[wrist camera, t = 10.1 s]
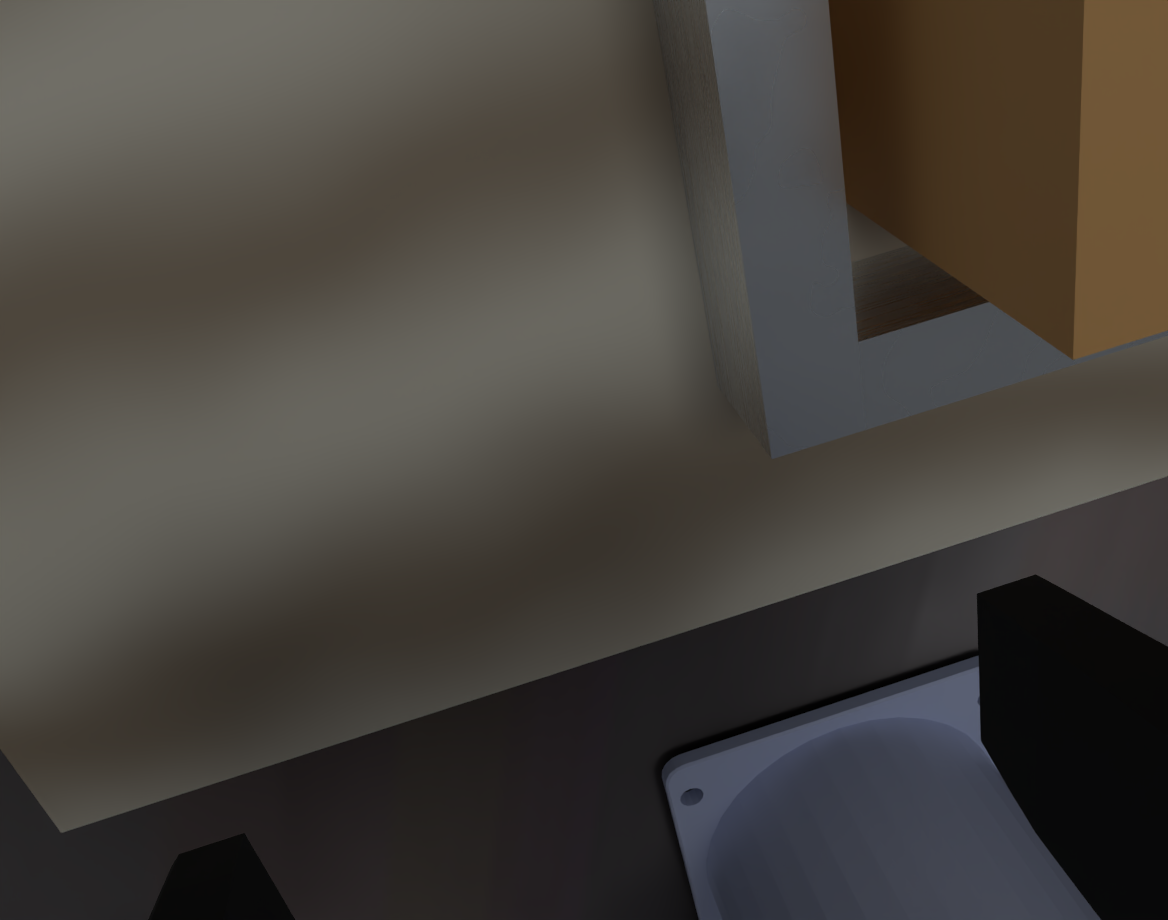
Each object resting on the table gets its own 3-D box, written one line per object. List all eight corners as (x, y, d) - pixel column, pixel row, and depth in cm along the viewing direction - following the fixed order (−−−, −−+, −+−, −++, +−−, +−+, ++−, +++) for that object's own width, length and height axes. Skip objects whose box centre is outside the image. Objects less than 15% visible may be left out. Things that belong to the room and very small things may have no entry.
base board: (1556, 316, 23) (1604, 335, 22) (71, 791, 21) (60, 832, 20) (1934, -961, 14) (2042, -1014, 13) (-732, -359, 11) (-815, -372, 10)
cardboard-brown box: (1079, 134, 18) (1395, 259, 12) (846, 202, 17) (1073, 360, 12) (1090, -226, 15) (1499, -254, 10) (815, -153, 15) (1088, -140, 9)
